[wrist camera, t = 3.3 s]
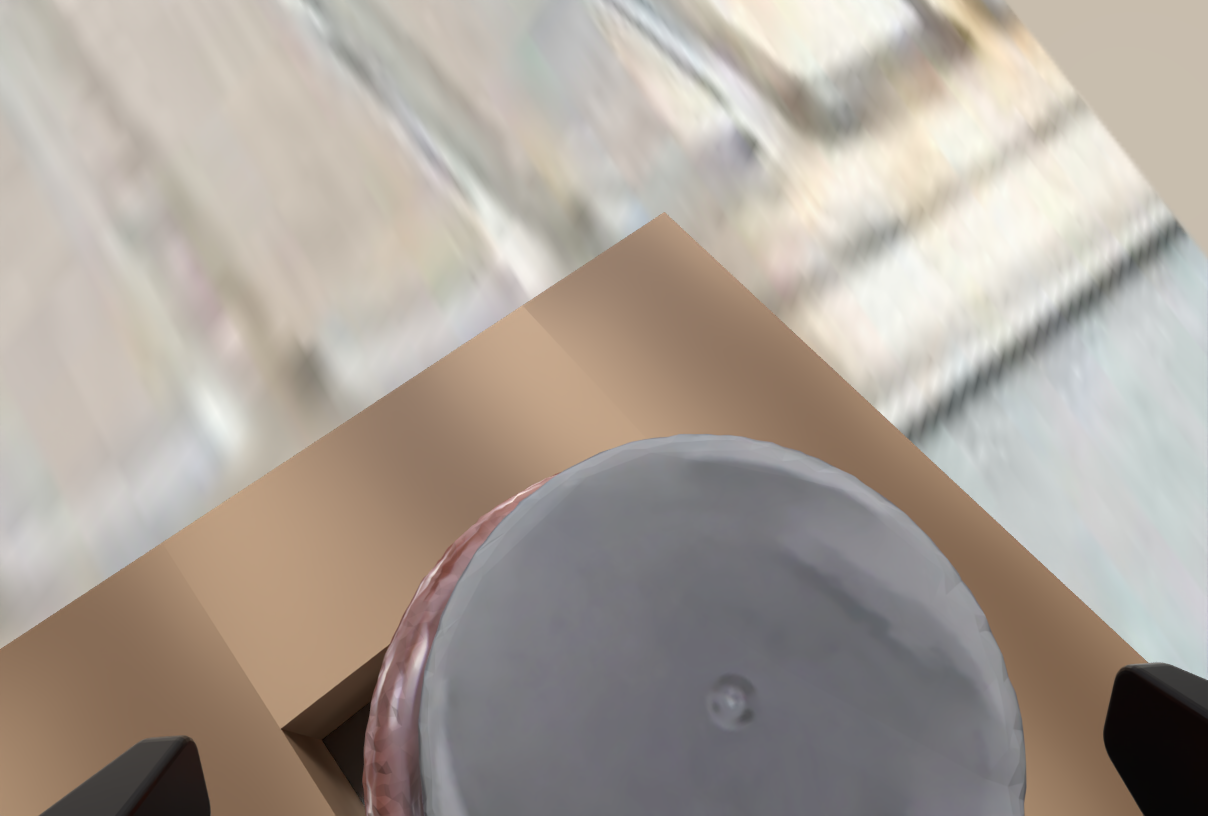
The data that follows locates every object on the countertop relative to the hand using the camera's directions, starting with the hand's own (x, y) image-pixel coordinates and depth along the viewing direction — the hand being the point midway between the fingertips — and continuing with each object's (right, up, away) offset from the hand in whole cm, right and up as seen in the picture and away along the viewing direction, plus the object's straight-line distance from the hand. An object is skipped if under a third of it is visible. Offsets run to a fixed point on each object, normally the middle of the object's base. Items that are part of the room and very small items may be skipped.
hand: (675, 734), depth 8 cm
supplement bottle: (0, -4, +8) cm, 9 cm away
